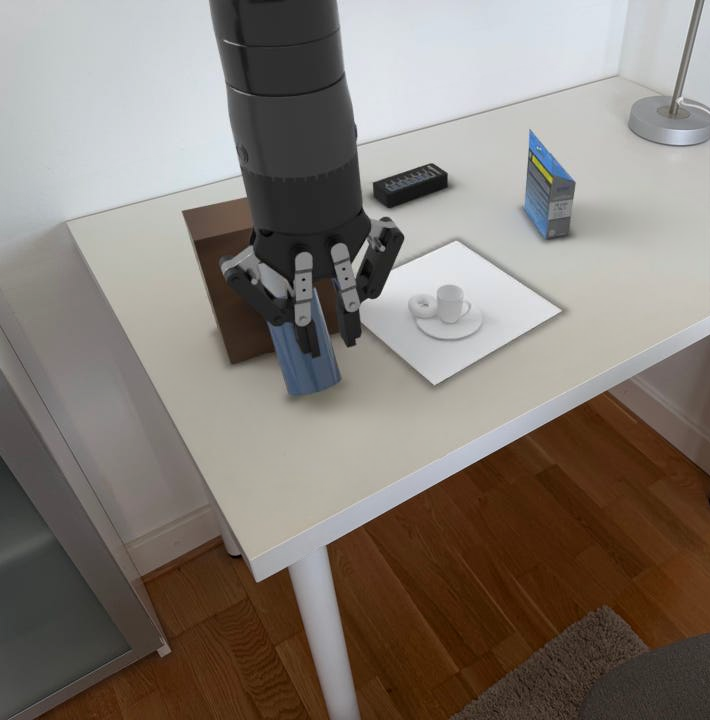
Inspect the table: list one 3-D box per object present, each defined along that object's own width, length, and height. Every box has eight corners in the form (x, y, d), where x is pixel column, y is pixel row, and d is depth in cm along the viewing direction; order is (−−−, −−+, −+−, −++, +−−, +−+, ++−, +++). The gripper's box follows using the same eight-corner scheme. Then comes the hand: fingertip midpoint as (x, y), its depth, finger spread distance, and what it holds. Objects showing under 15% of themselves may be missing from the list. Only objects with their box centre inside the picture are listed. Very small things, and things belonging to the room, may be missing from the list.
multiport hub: (372, 196, 103) (371, 182, 101) (432, 175, 108) (432, 162, 106) (388, 208, 100) (387, 194, 99) (449, 187, 105) (449, 173, 104)
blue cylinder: (297, 419, 70) (272, 310, 60) (268, 353, 77) (242, 246, 67) (350, 401, 72) (333, 293, 62) (317, 339, 79) (298, 233, 69)
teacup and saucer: (398, 313, 83) (396, 286, 80) (449, 288, 87) (449, 261, 84) (444, 351, 78) (444, 323, 75) (496, 322, 82) (498, 295, 79)
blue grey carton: (570, 236, 96) (581, 153, 88) (544, 240, 95) (553, 157, 87) (546, 204, 102) (554, 124, 94) (522, 208, 101) (528, 127, 93)
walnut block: (230, 364, 75) (193, 240, 65) (218, 332, 79) (181, 210, 68) (351, 328, 80) (336, 208, 70) (335, 300, 84) (317, 181, 73)
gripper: (377, 105, 49) (392, 298, 61) (173, 141, 44) (233, 343, 56) (420, 148, 44) (427, 349, 56) (197, 195, 39) (256, 404, 51)
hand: (330, 345), depth 56 cm, fingers closed
